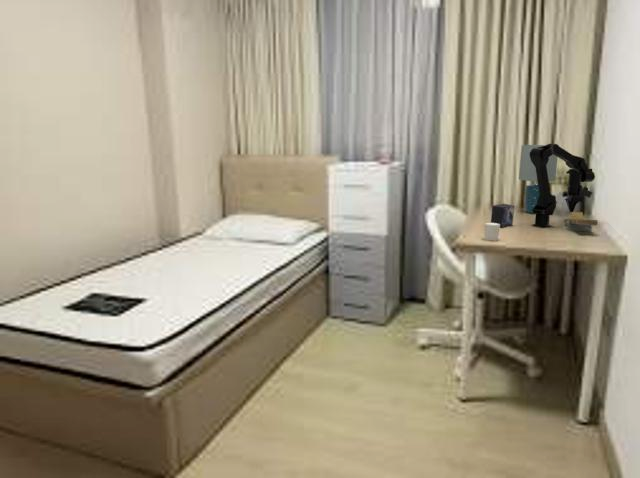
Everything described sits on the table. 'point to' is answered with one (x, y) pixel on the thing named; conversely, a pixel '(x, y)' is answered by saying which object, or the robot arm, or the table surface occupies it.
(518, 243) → the table surface
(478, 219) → the table surface
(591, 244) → the table surface
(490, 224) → the white cup
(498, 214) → the small box
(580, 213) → the block
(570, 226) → the pivot stand
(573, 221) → the brown long shallow tray
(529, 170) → the lamp
